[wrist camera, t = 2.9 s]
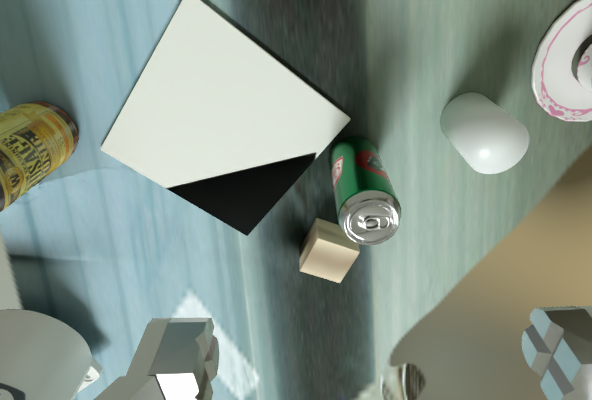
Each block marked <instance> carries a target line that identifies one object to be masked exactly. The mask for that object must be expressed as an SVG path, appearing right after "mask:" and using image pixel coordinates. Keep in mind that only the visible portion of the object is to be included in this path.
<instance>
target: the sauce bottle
mask: <svg viewBox="0 0 592 400" xmlns="http://www.w3.org/2000/svg"><path fill="white" fill-rule="evenodd" d="M78 140H79V137H78V131H77V129H76V127H75V125H74V123H73V122H72V120H71V119H70V118H69V116H68V115H67V114H66V112H64V111H63V110H61V109H60V108H58V107H55V106H53V105H51V104H48V103H46V102H41V101H38V102H31V103H26V104H20V105H18V106H15V107H13V108H11V109H9V110H7V111H5V112H2V113H0V212H1V211H2V210H4V209H5V208H6V207H8V206H9V205H10V204H12V203H13V202H14V201H15V200H16V199H18V198H19V197H20V196H22V195H23V194H25V193H26V192H27V191H28V190H29V189H30V188H32V187H33V186H35V185H36V184H38V183H39V182H40V181H41V180H42V179H44V178H45V177H46V176H47V175H49V174H50V173H51V172H52V171H54V170H55V169H56V168H57V167H58V166H60V165H61V164H62V163H64V162H65V161H66V160H67V159H68V158H69V157H70V155H71V154H72V153H73V152H74V151H75V149H76V146H77V144H78Z"/></svg>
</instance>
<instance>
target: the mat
mask: <svg viewBox="0 0 592 400" xmlns="http://www.w3.org/2000/svg"><path fill="white" fill-rule="evenodd" d="M350 120H351V119H350V117H348V116H347V115H346V114H345V113H343V112H342V111H341V110H340V109H338V108H337V107H336V106H334V105H333V104H332V103H331V102H329V101H328V100H327V99H326V98H324V97H323V96H322V95H321V94H319V93H318V92H317V91H316V90H314V89H313V88H312V87H310V86H309V85H308V84H307V83H305V82H304V81H303V80H302V79H300V78H299V77H298V76H297V75H295V74H294V73H293V72H291V71H290V70H289V69H288V68H286V67H285V66H284V65H283V64H281V63H280V62H279V61H278V60H276V59H275V58H274V57H273V56H271V55H270V54H269V53H267V52H266V51H265V50H264V49H262V48H261V47H260V46H259V45H257V44H256V43H255V42H254V41H252V40H251V39H250V38H249V37H247V36H246V35H245V34H243V33H242V32H241V31H240V30H238V29H237V28H236V27H235V26H233V25H232V24H231V23H230V22H228V21H227V20H226V19H225V18H223V17H222V16H221V15H219V14H218V13H217V12H216V11H214V10H213V9H212V8H211V7H209V6H208V5H207V4H206V3H204V2H203V1H202V0H182V2H181V4H180V5H179V7H178V9H177V11H176V13H175V15H174V16H173V18H172V20H171V22H170V24H169V25H168V27H167V29H166V31H165V33H164V34H163V36H162V38H161V40H160V42H159V44H158V45H157V47H156V49H155V51H154V53H153V54H152V56H151V58H150V60H149V62H148V63H147V65H146V67H145V69H144V71H143V73H142V74H141V76H140V78H139V80H138V82H137V83H136V85H135V87H134V89H133V91H132V92H131V94H130V96H129V98H128V100H127V102H126V103H125V105H124V107H123V109H122V111H121V112H120V114H119V116H118V118H117V120H116V121H115V123H114V125H113V127H112V129H111V131H110V132H109V134H108V136H107V138H106V140H105V141H104V143H103V145H102V147H101V149H100V150H102V151H103V152H105V153H107V154H108V155H110V156H112V157H114V158H115V159H117V160H119V161H120V162H122V163H124V164H126V165H127V166H129V167H131V168H132V169H134V170H136V171H137V172H139V173H141V174H143V175H144V176H146V177H148V178H149V179H151V180H153V181H154V182H156V183H158V184H160V185H161V186H163V187H165V188H166V189H168V190H170V191H171V192H173V193H175V194H177V195H178V196H180V197H182V198H183V199H185V200H187V201H188V202H190V203H192V204H194V205H195V206H197V207H199V208H200V209H202V210H204V211H206V212H207V213H209V214H211V215H212V216H214V217H216V218H217V219H219V220H221V221H223V222H224V223H226V224H228V225H229V226H231V227H233V228H234V229H236V230H238V231H240V232H241V233H243V234H245V235H246V236H248V234H249V233H250V232H251V231H252V230H253V229H254V228H255V227H256V225H257V224H258V223H259V222H260V221H261V220H262V219H263V218H264V216H265V215H266V214H267V213H268V212H269V211H270V210H271V209H272V207H273V206H274V205H275V204H276V203H277V202H278V201H279V200H280V198H281V197H282V196H283V195H284V194H285V193H286V192H287V191H288V189H289V188H290V187H291V186H292V185H293V184H294V183H295V182H296V180H297V179H298V178H299V177H300V176H301V175H302V174H303V173H304V171H305V170H306V169H307V168H308V167H309V166H310V165H311V164H312V162H313V161H314V160H315V159H316V158H317V157H318V156H319V155H320V153H321V152H322V151H323V150H324V149H325V148H326V147H327V146H328V144H329V143H330V142H331V141H332V140H333V139H334V138H335V136H336V135H337V134H338V133H339V132H340V131H341V130H342V129H343V127H344V126H345V125H346V124H347V123H348V122H349V121H350Z"/></svg>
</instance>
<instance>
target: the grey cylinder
mask: <svg viewBox="0 0 592 400" xmlns="http://www.w3.org/2000/svg"><path fill="white" fill-rule="evenodd" d="M440 126H441V130H442V132H443V133H444V135H445V136H446V137H447V138H448V139H449V141H450V142H451V143H452V144H453V145H454V147H455V148H456V149H457V150H458V151H459V153H460V154H461V155H462V156H463V157H464V159H465V160H466V161H467V162H468V163H469V165H470V166H471V167H472V168H473V169H474V170H476V171H478V172H480V173H484V174H495V173H500V172H503V171H505V170H507V169H509V168H511V167H513V166H514V165H515V164H516V163H517V162H519V161H520V159H521V158H522V157H523V156H524V154H525V152H526V150H527V148H528V145H529V133H528V130H527V129H526V127H525V126H524V125H523V124H522V123H521V122H519V121H518V120H517V119H515V118H514V117H512V116H511V115H510V114H508V113H507V112H506V111H504V110H503V109H502V108H500V107H499V106H498V105H496V104H495V103H493V102H492V101H491V100H489V99H488V98H487V97H485V96H484V95H482V94H479V93H474V92H471V93H465V94H461V95H459V96H457V97H455V98H454V99H453V100H451V101H450V102H449V103H448V104H447V106H446V107H445V108H444V110H443V112H442V115H441V119H440Z"/></svg>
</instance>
